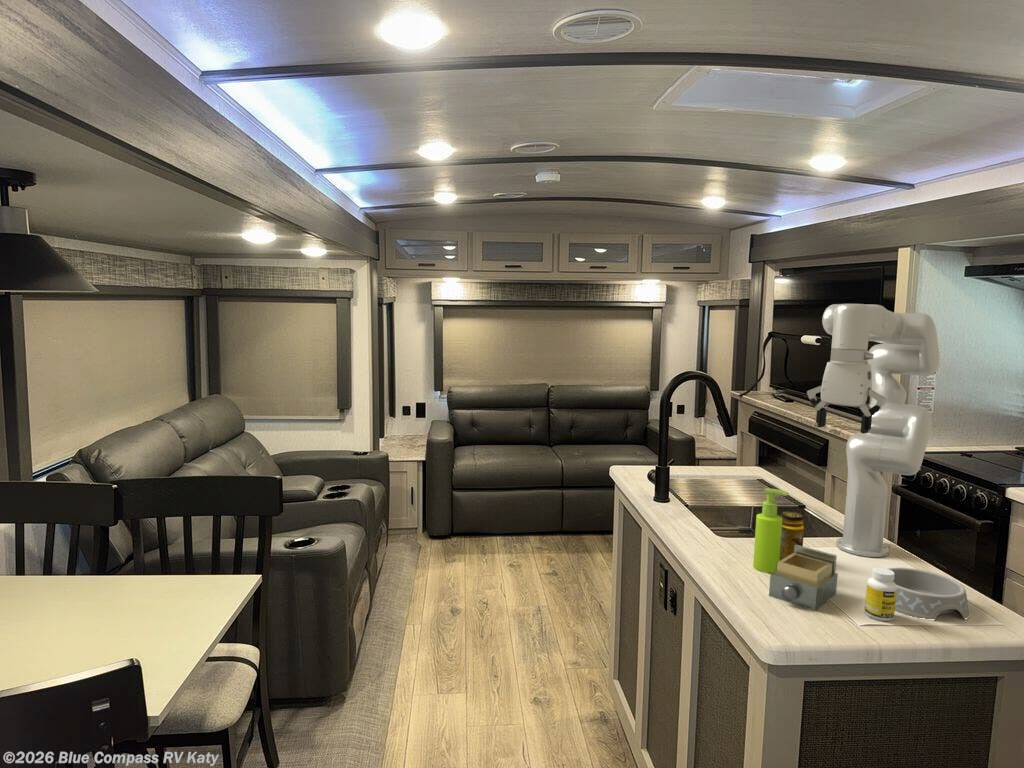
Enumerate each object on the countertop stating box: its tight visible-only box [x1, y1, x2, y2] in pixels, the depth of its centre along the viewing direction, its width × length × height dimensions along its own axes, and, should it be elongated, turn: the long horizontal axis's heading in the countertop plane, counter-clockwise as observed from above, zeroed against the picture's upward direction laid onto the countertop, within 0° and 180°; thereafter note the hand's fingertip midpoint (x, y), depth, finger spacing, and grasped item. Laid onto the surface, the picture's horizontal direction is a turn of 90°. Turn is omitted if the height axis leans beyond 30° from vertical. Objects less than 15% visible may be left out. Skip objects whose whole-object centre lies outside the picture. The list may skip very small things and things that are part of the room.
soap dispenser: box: [752, 487, 790, 574], centre depth 159 cm, size 6×7×20 cm
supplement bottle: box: [864, 567, 897, 622], centre depth 136 cm, size 5×5×10 cm
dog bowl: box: [887, 567, 971, 620], centre depth 143 cm, size 17×18×5 cm
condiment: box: [779, 511, 805, 561], centre depth 167 cm, size 7×8×12 cm
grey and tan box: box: [768, 545, 838, 612], centre depth 144 cm, size 14×10×9 cm
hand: (842, 429), depth 153 cm, fingers open, 9 cm apart
